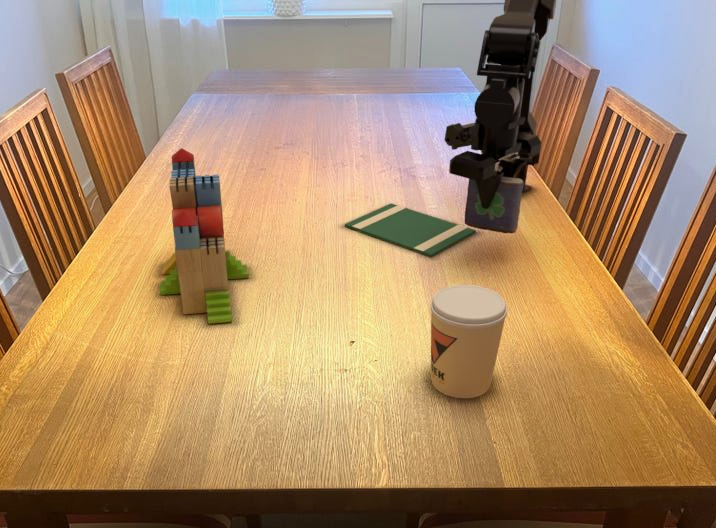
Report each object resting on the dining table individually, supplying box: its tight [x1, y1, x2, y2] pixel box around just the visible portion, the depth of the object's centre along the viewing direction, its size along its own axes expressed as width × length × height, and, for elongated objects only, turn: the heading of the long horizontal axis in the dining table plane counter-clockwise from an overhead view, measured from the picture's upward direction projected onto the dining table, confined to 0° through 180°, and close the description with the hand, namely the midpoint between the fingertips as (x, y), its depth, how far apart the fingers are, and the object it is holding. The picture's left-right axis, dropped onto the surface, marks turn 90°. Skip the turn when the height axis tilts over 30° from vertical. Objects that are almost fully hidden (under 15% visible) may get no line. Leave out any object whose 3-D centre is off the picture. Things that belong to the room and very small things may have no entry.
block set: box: [159, 148, 249, 324], centre depth 116 cm, size 28×14×19 cm, turn 9°
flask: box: [464, 166, 524, 234], centre depth 124 cm, size 9×3×11 cm, turn 62°
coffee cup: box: [429, 284, 508, 399], centre depth 94 cm, size 9×9×12 cm
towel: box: [344, 203, 477, 258], centre depth 139 cm, size 14×20×1 cm
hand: (490, 205), depth 125 cm, fingers closed on flask, 3 cm apart
